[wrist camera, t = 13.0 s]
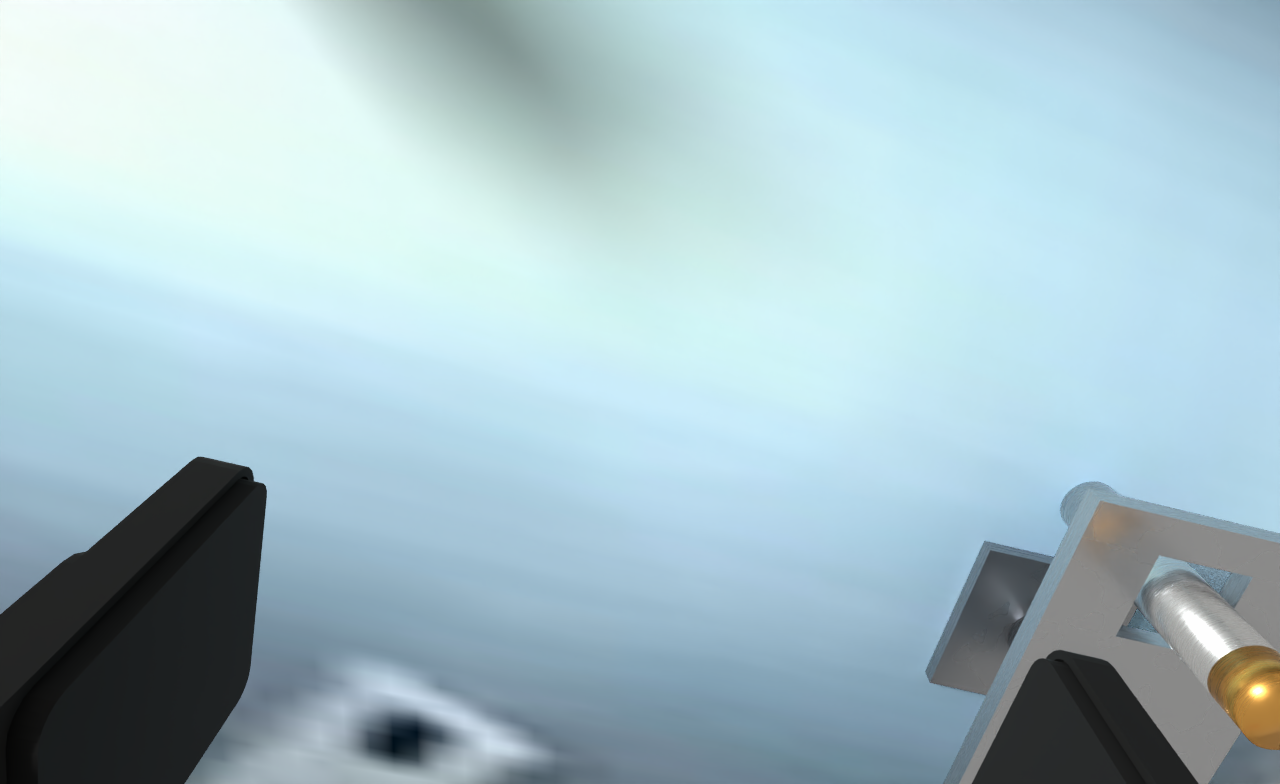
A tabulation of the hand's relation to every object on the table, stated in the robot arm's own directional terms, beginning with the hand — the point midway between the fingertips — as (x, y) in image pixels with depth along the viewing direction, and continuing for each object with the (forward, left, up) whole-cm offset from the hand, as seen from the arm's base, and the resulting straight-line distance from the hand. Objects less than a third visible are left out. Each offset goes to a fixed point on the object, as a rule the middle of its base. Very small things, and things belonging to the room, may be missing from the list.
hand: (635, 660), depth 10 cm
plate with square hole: (+15, +23, -28) cm, 39 cm away
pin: (+8, +23, -28) cm, 37 cm away
